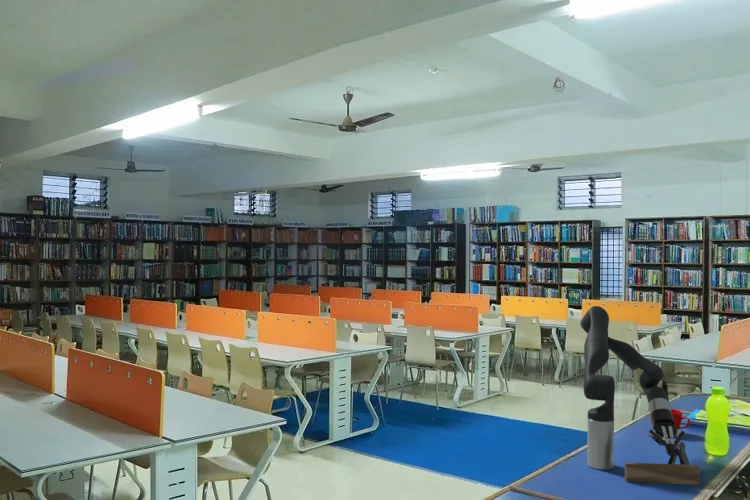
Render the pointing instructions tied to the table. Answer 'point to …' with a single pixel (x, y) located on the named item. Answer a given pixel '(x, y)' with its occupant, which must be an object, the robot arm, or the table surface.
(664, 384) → the statue
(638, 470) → the board
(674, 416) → the ceramic cup
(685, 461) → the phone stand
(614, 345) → the robot arm
